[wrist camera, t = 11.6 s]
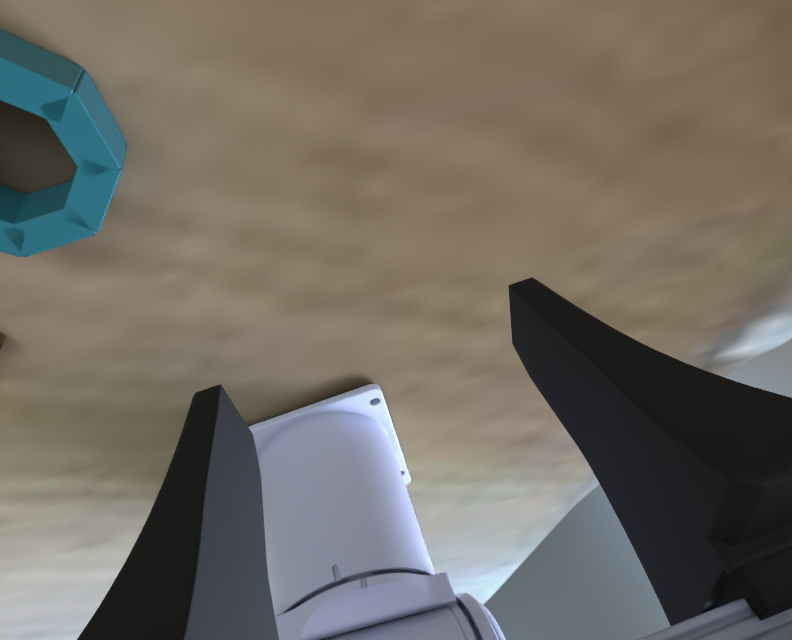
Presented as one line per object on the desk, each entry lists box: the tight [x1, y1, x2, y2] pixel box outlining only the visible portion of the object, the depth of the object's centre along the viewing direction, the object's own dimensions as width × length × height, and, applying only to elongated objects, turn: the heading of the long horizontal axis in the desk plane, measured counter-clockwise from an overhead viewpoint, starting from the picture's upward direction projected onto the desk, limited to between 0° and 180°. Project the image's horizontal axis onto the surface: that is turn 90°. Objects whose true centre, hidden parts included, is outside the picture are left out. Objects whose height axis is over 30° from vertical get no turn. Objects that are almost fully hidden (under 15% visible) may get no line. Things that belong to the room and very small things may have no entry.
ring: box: [0, 29, 127, 257], centre depth 16 cm, size 6×6×2 cm
